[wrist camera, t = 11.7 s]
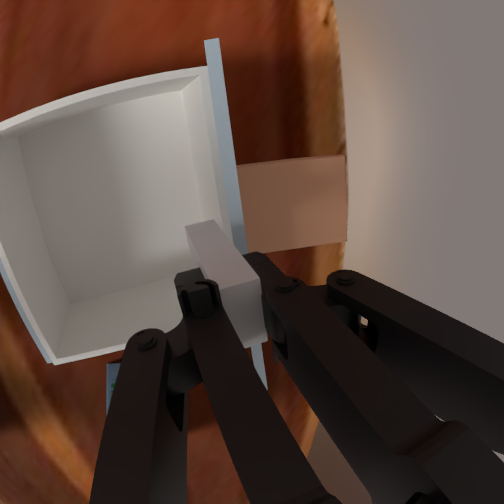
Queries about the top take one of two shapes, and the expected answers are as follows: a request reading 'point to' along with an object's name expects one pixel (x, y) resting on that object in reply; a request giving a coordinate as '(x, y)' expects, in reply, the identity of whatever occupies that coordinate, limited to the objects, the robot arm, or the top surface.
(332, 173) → the far flap
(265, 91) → the top surface
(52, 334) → the carton
